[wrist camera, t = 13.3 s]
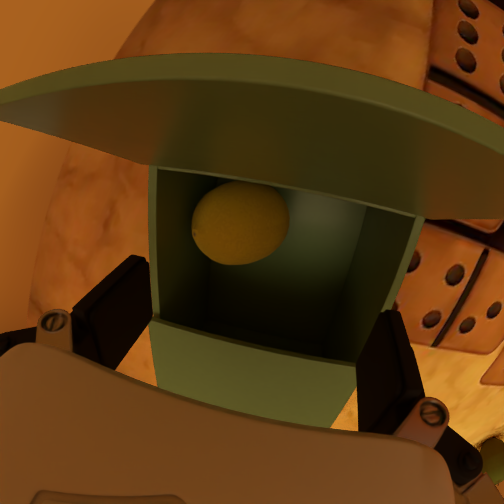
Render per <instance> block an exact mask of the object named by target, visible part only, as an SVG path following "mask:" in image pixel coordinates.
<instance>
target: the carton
mask: <svg viewBox="0 0 504 504" xmlns="http://www.w3.org/2000/svg"><path fill="white" fill-rule="evenodd" d="M238 180H240V181H247V182H253V183H258V184H264V185H269V186H271V187H273V188H274V189H275V190H276V191H277V192H278V193H279V194H280V195H281V196H282V197H283V199H284V201H285V202H286V204H287V207H288V210H289V216H290V221H289V229H288V232H287V235H286V237H285V239H284V240H283V242H282V244H281V245H280V246H279V247H278V248H277V249H276V250H275V251H274V252H272V253H271V254H270V255H268V256H267V257H265V258H263V259H260V260H258V261H255V262H252V263H248V264H242V265H226V264H221V263H218V262H216V261H213V260H212V259H210V258H209V257H207V256H206V255H205V254H204V253H203V252H202V251H201V250H200V249H199V248H198V246H197V244H196V243H195V240H194V238H193V236H192V228H191V225H192V216H193V212H194V210H195V208H196V206H197V204H198V202H199V201H200V200H201V199H202V198H203V196H204V195H205V194H207V193H208V192H209V191H211V190H213V189H215V188H216V187H218V186H220V185H222V184H225V183H228V182H231V181H238ZM424 220H425V217H421V216H418V215H414V214H411V213H407V212H403V211H399V210H396V209H392V208H388V207H384V206H380V205H376V204H372V203H368V202H364V201H360V200H355V199H351V198H347V197H342V196H338V195H333V194H329V193H324V192H319V191H315V190H310V189H305V188H300V187H295V186H289V185H284V184H279V183H273V182H268V181H262V180H256V179H250V178H244V177H238V176H231V175H225V174H218V173H211V172H203V171H196V170H188V169H180V168H172V167H163V166H153V165H149V179H148V231H149V260H150V278H151V293H152V305H153V316H154V317H152V319H151V321H150V323H149V324H148V326H149V334H150V341H151V348H152V355H153V362H154V368H155V374H156V380H157V386H158V388H161V389H164V390H167V391H170V392H173V393H176V394H179V395H182V396H185V397H189V398H192V399H195V400H198V401H202V402H205V403H209V404H212V405H216V406H219V407H223V408H227V409H231V410H235V411H239V412H243V413H247V414H252V415H256V416H261V417H265V418H270V419H275V420H281V421H286V422H292V423H297V424H304V425H310V426H317V427H325V428H330V427H331V425H332V424H333V423H334V421H335V420H336V418H337V417H338V415H339V414H340V412H341V410H342V409H343V407H344V406H345V404H346V403H347V401H348V400H349V398H350V396H351V395H352V393H353V391H354V390H355V388H356V386H357V382H356V362H357V359H358V357H359V355H360V353H361V351H362V349H363V347H364V345H365V343H366V341H367V339H368V337H369V335H370V333H371V330H372V328H373V326H374V324H375V322H376V320H377V317H378V315H379V313H380V312H384V311H385V310H386V309H388V310H391V307H392V305H393V303H394V301H395V298H396V296H397V294H398V291H399V289H400V286H401V284H402V281H403V279H404V276H405V274H406V271H407V269H408V266H409V264H410V261H411V258H412V255H413V253H414V250H415V247H416V244H417V241H418V238H419V235H420V232H421V229H422V226H423V223H424Z"/></svg>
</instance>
